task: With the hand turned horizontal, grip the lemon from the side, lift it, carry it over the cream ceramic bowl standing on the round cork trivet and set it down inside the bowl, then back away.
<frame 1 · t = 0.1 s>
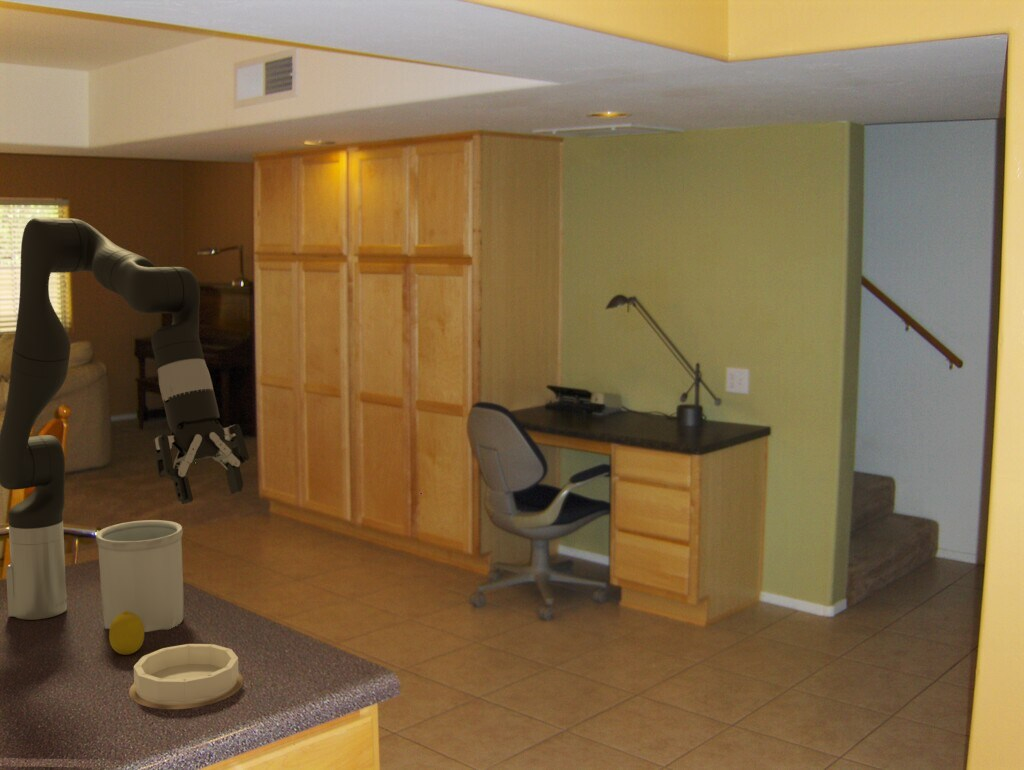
hand: (212, 498, 160), 31 cm above the kitchen island, tool tilted 20°, fingers open, 8 cm apart
utensil holder: (142, 624, 195), on the kitchen island
lemon: (127, 658, 180), on the kitchen island
bowl: (187, 685, 166), resting on trivet
trivet: (187, 690, 167), on the kitchen island
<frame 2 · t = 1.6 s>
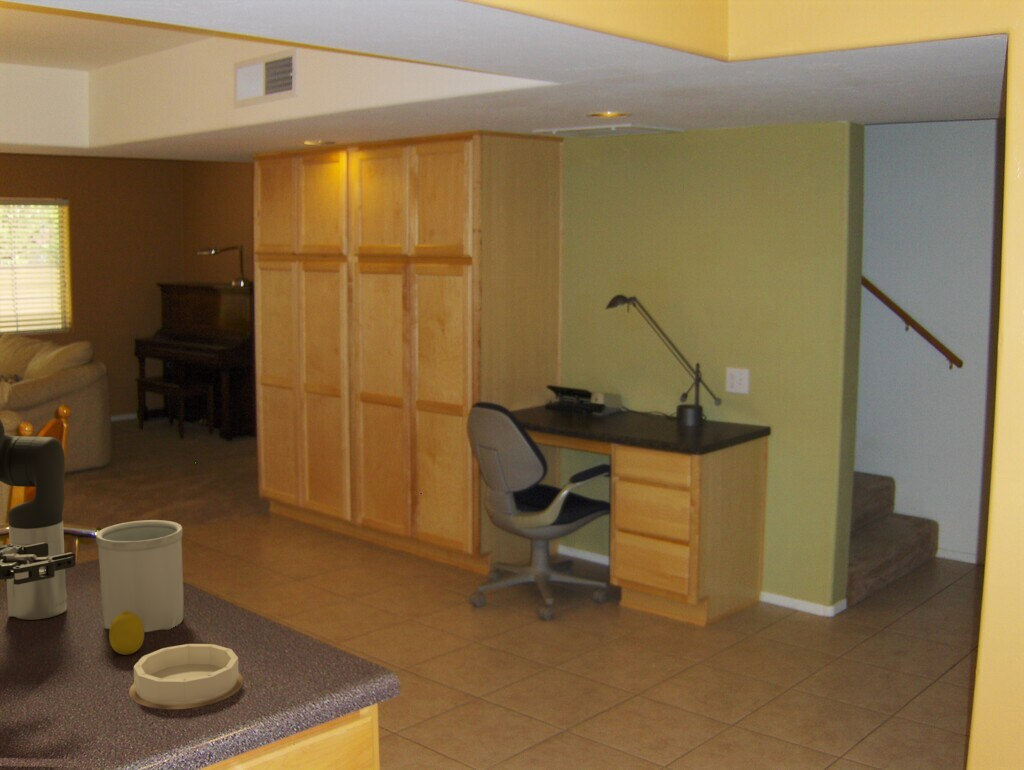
hand: (60, 553, 169), 20 cm above the kitchen island, tool horizontal, fingers open, 8 cm apart
nothing on the kitchen island moved.
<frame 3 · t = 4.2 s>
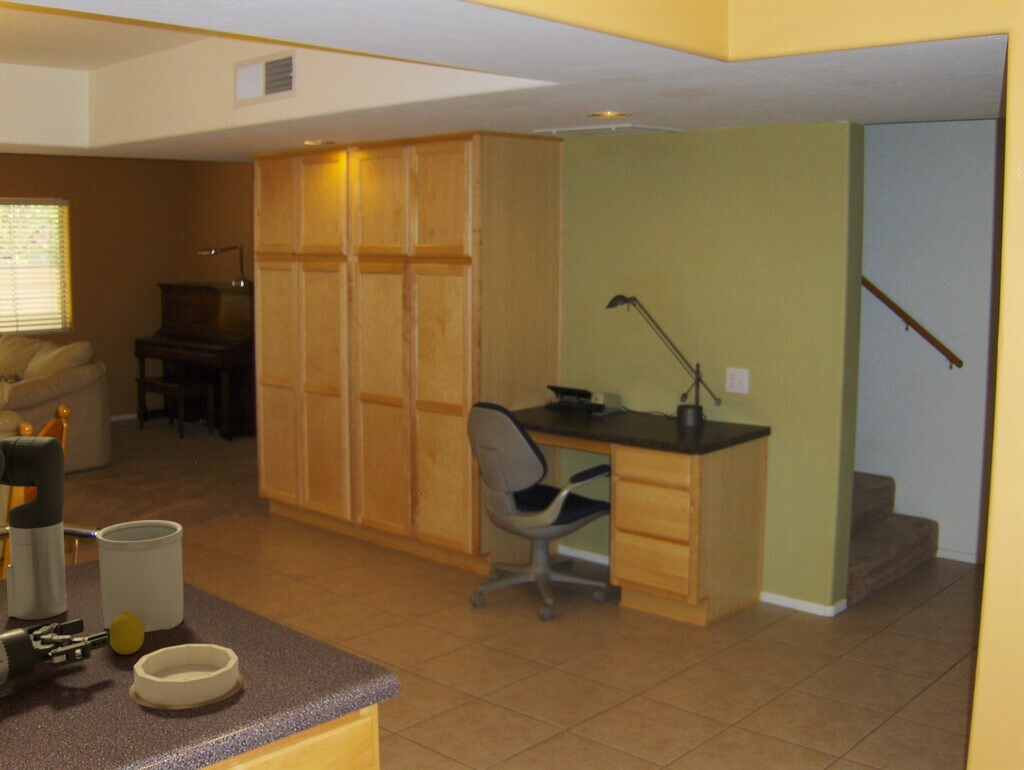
hand: (95, 631, 175), 6 cm above the kitchen island, tool horizontal, fingers open, 8 cm apart
nothing on the kitchen island moved.
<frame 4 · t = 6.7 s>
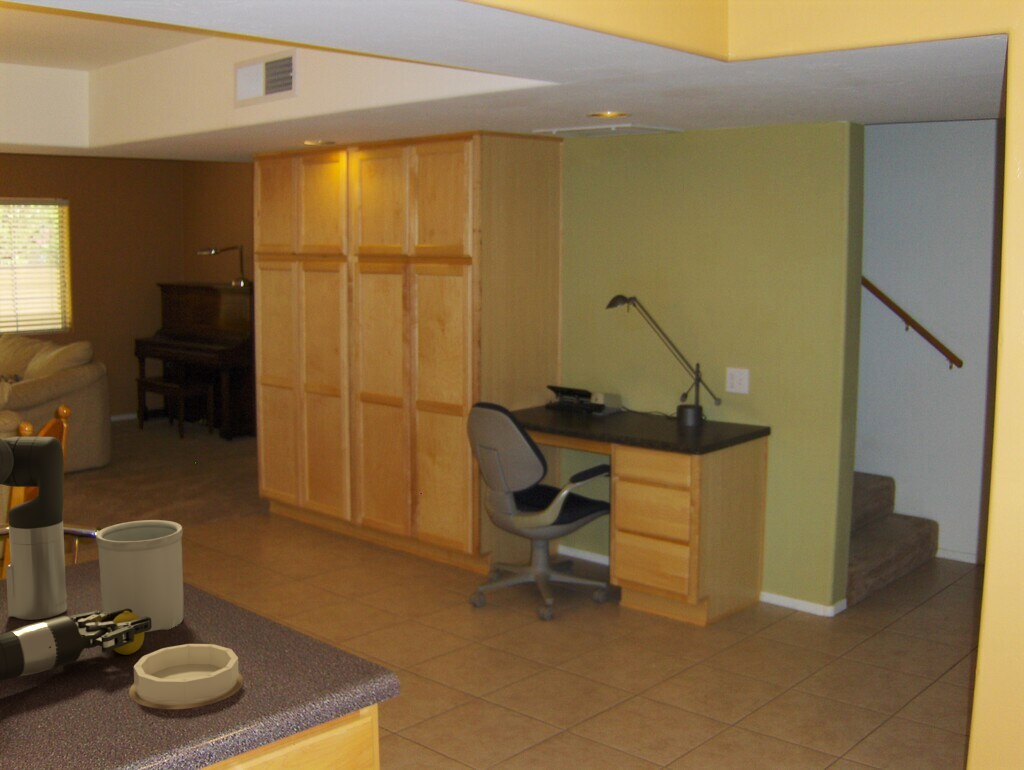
hand: (140, 618, 181), 6 cm above the kitchen island, tool horizontal, fingers closed on lemon, 5 cm apart
lemon: (127, 658, 180), on the kitchen island, touching gripper
everything else where it was.
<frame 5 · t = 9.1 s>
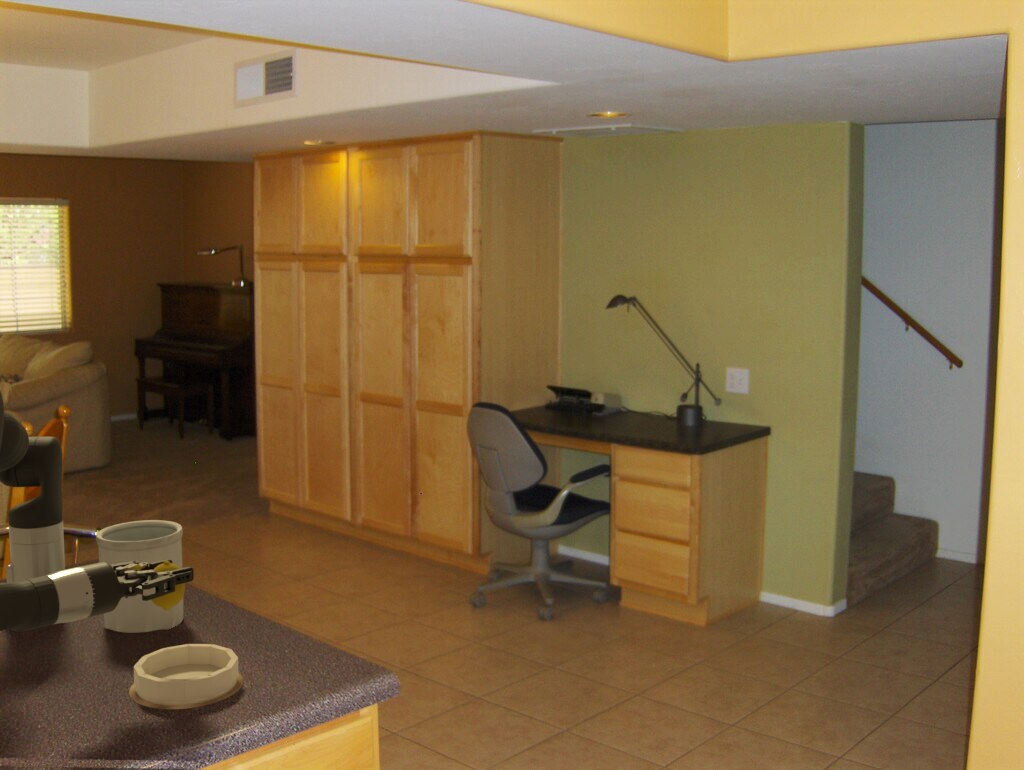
hand: (181, 569, 168), 18 cm above the kitchen island, tool horizontal, fingers closed on lemon, 5 cm apart
lemon: (166, 612, 167), point 12 cm above the kitchen island, touching gripper
everything else where it was.
when the fingers open (10 cm above the kitchen island, at t = 11.9 s): lemon drops 2 cm, resting on bowl.
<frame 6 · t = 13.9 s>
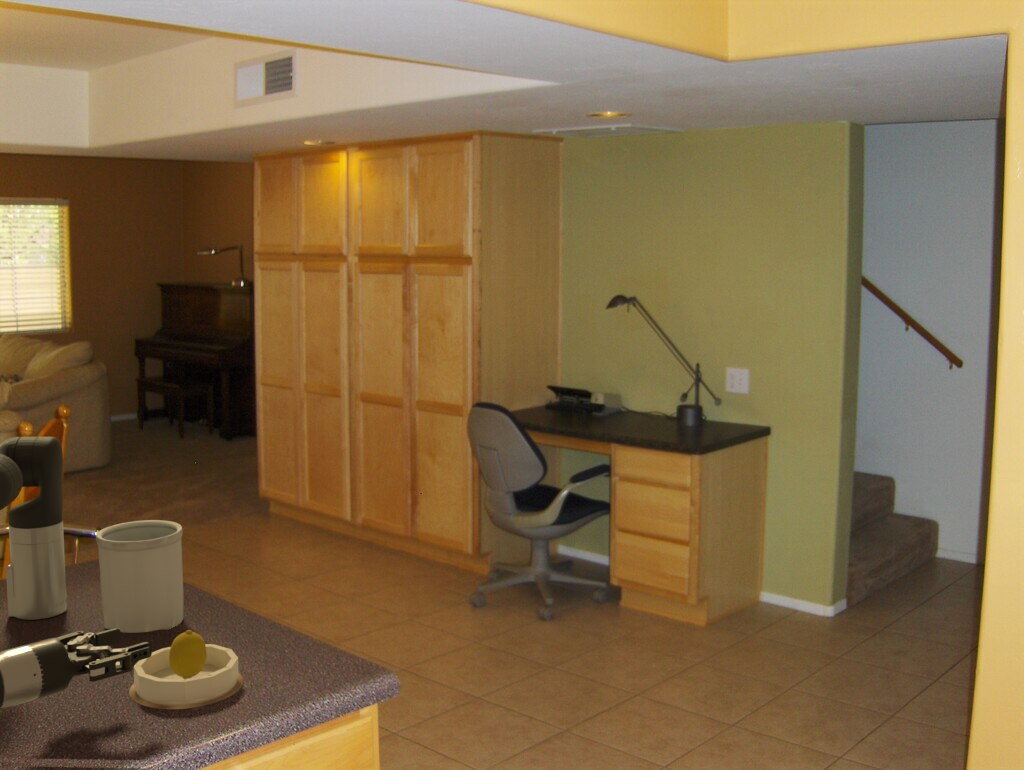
hand: (134, 641, 158), 10 cm above the kitchen island, tool horizontal, fingers open, 8 cm apart
lemon: (186, 681, 166), point 2 cm above the kitchen island, touching bowl
everything else where it was.
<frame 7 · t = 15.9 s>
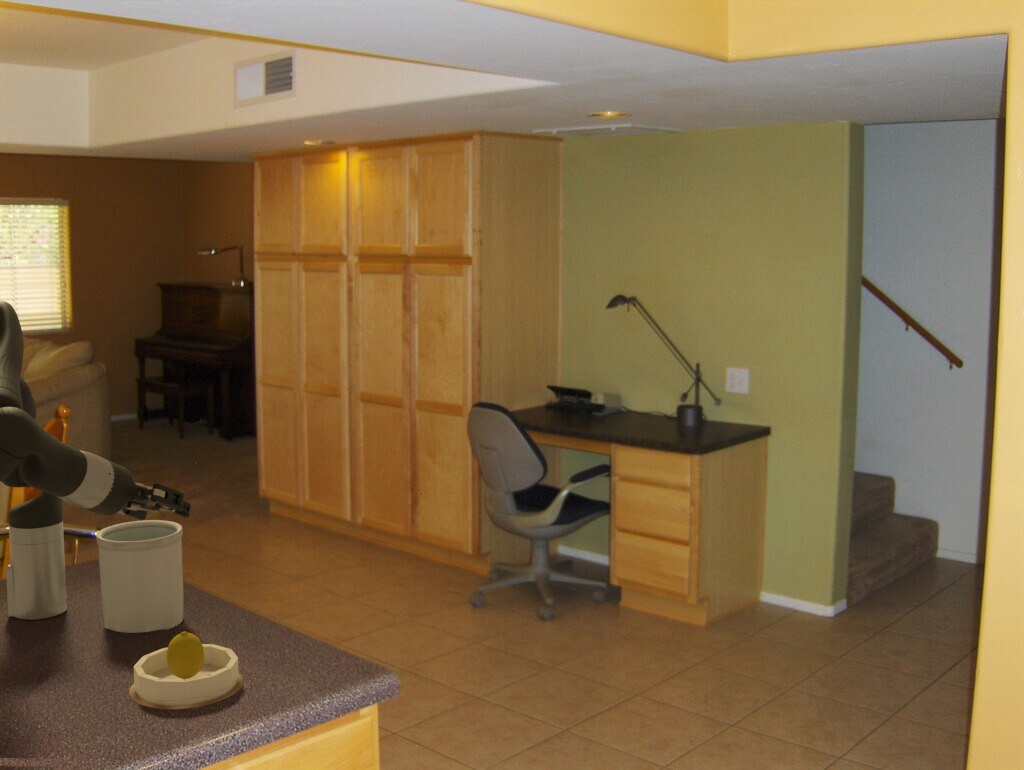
hand: (166, 512, 166), 28 cm above the kitchen island, tool tilted 60°, fingers open, 8 cm apart
nothing on the kitchen island moved.
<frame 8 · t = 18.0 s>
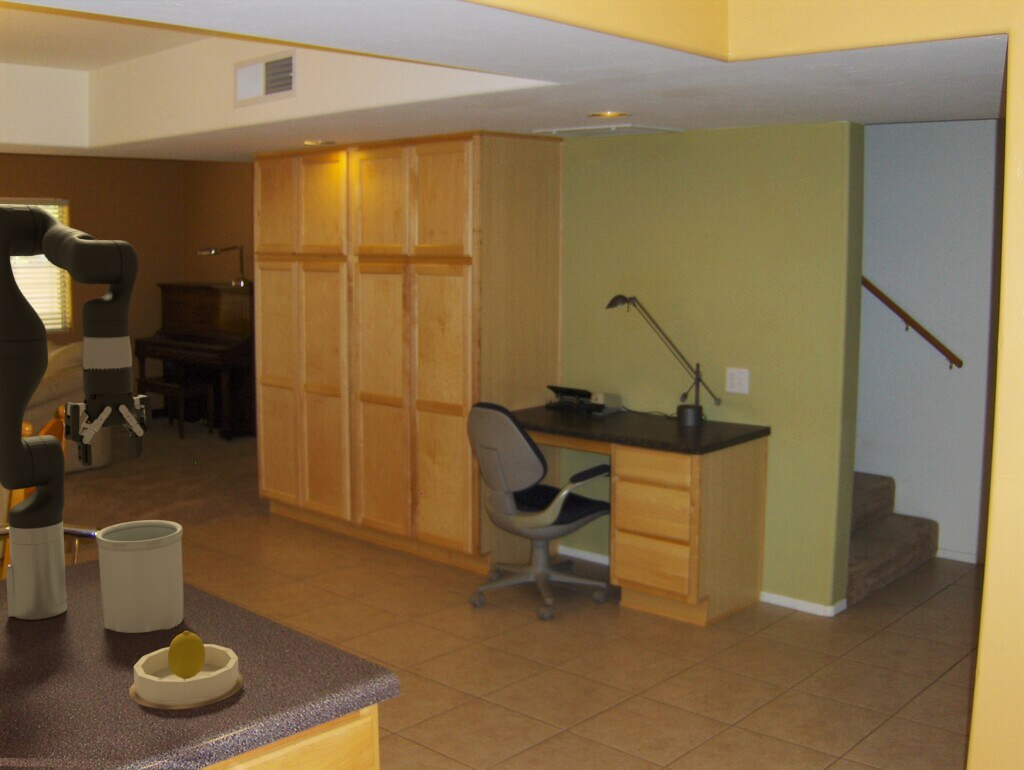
hand: (110, 461, 176), 33 cm above the kitchen island, tool pointing down, fingers open, 8 cm apart
nothing on the kitchen island moved.
at the end: lemon 0.2 cm from the bowl (horizontally); lemon point 1.4 cm above the kitchen island; the gripper is holding nothing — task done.
